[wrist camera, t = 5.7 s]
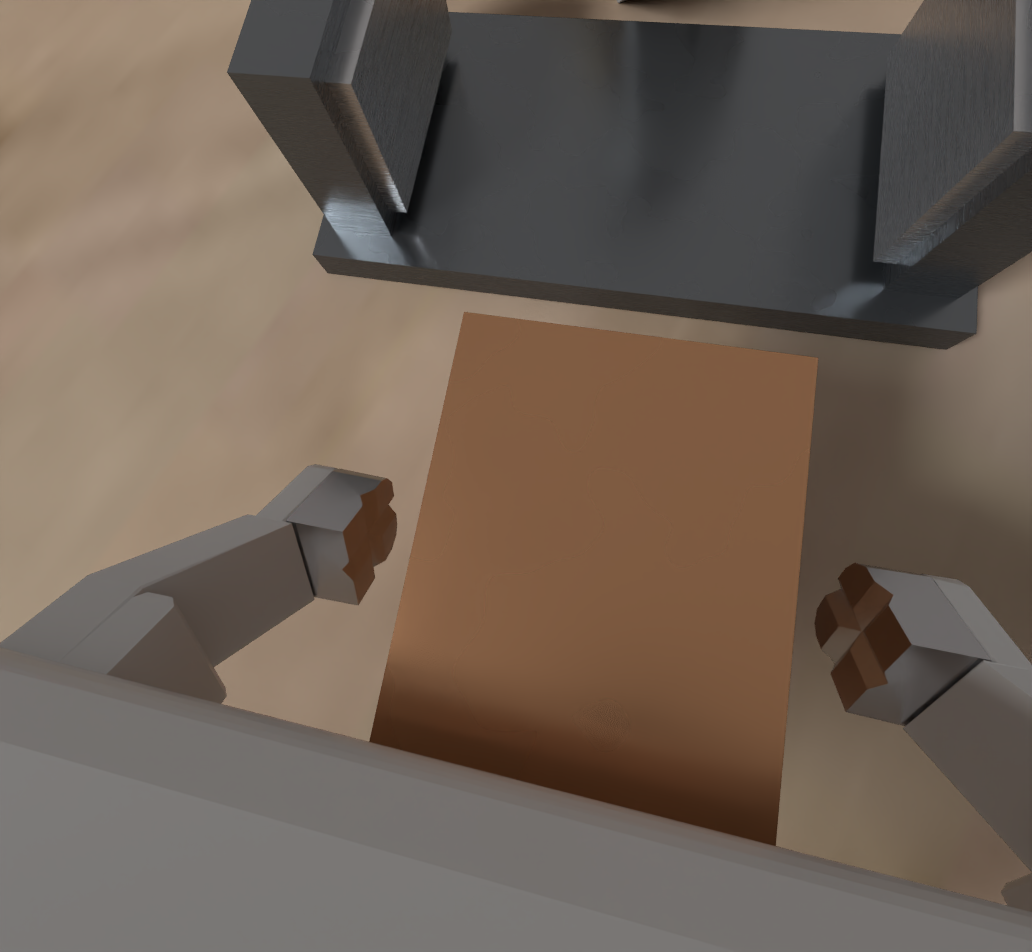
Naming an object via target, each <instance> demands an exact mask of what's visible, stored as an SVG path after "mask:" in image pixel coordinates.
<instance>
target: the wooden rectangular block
mask: <svg viewBox="0 0 1032 952" xmlns="http://www.w3.org/2000/svg"><path fill="white" fill-rule="evenodd" d="M817 367H818V358H816V357H808V356H801V355H793V354H785V353H778V352H770V351H762V350H754V349H747V348H739V347H731V346H723V345H716V344H708V343H700V342H693V341H685V340H677V339H669V338H662V337H654V336H646V335H638V334H631V333H623V332H615V331H608V330H600V329H592V328H584V327H577V326H569V325H561V324H553V323H546V322H538V321H530V320H522V319H515V318H507V317H499V316H492V315H484V314H476V313H468V312H464V315H463V319H462V324H461V328H460V333H459V337H458V342H457V347H456V351H455V356H454V360H453V365H452V369H451V374H450V378H449V383H448V387H447V392H446V396H445V401H444V405H443V410H442V415H441V419H440V424H439V428H438V433H437V437H436V442H435V446H434V451H433V455H432V460H431V464H430V469H429V474H428V478H427V483H426V487H425V492H424V496H423V501H422V505H421V510H420V514H419V519H418V523H417V528H416V533H415V537H414V542H413V546H412V551H411V555H410V560H409V564H408V569H407V573H406V578H405V582H404V587H403V592H402V596H401V601H400V605H399V610H398V614H397V619H396V623H395V628H394V632H393V637H392V641H391V646H390V650H389V655H388V660H387V664H386V669H385V673H384V678H383V682H382V687H381V691H380V696H379V700H378V705H377V709H376V714H375V719H374V723H373V728H372V732H371V737H370V741H369V742H372V743H376V744H380V745H384V746H388V747H392V748H395V749H399V750H403V751H407V752H411V753H415V754H419V755H423V756H427V757H431V758H434V759H438V760H442V761H446V762H450V763H454V764H458V765H462V766H466V767H470V768H473V769H477V770H481V771H485V772H489V773H493V774H497V775H501V776H505V777H509V778H512V779H516V780H520V781H524V782H528V783H532V784H536V785H540V786H544V787H547V788H551V789H555V790H559V791H563V792H567V793H571V794H575V795H579V796H583V797H586V798H590V799H594V800H598V801H602V802H606V803H610V804H614V805H618V806H621V807H625V808H629V809H633V810H637V811H641V812H645V813H649V814H653V815H656V816H660V817H664V818H668V819H672V820H676V821H680V822H684V823H688V824H692V825H695V826H699V827H703V828H707V829H711V830H715V831H719V832H723V833H727V834H730V835H734V836H738V837H742V838H746V839H750V840H754V841H758V842H762V843H765V844H769V845H773V846H776V835H777V824H778V812H779V801H780V789H781V778H782V767H783V755H784V744H785V732H786V721H787V710H788V698H789V687H790V675H791V664H792V652H793V641H794V630H795V618H796V607H797V595H798V584H799V573H800V561H801V550H802V538H803V527H804V515H805V504H806V493H807V481H808V470H809V458H810V447H811V436H812V424H813V413H814V401H815V390H816V378H817Z"/></svg>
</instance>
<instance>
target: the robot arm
mask: <svg viewBox="0 0 1032 952" xmlns="http://www.w3.org/2000/svg"><path fill="white" fill-rule="evenodd" d="M393 497H394V493H393V486H392V482H391V481H390V480H389V479H387V478H383V477H378V476H373V475H368V474H364V473H359V472H354V471H349V470H344V469H337V468H332V467H327V466H322V465H317V464H314V465H310V466H307V467H306V468H305V469H304V470H303V471H302V472H301V473H300V474H299V475H298V476H297V477H296V478H295V479H294V480H293V481H292V482H291V483H289V484H288V485H287V486H286V487H285V488H284V489H283V490H282V491H281V492H280V493H279V494H278V495H277V496H276V497H275V498H274V499H273V500H272V501H271V502H270V503H269V504H268V505H267V506H266V507H264V508H263V509H262V510H261V511H260V512H259V513H258V514H257V515H256V516H253V515H245V516H242V517H240V518H237V519H234V520H232V521H229V522H227V523H224V524H221V525H219V526H216V527H213V528H211V529H208V530H206V531H203V532H200V533H198V534H195V535H192V536H190V537H187V538H185V539H182V540H179V541H177V542H174V543H171V544H169V545H166V546H163V547H161V548H158V549H156V550H153V551H150V552H148V553H145V554H142V555H140V556H137V557H135V558H132V559H129V560H127V561H124V562H121V563H119V564H116V565H114V566H111V567H108V568H106V569H103V570H100V571H98V572H95V573H92V574H90V575H87V576H86V577H85V578H84V579H82V580H81V581H80V582H78V583H77V584H76V585H75V586H73V587H72V588H71V589H69V590H68V591H67V592H66V593H64V594H63V595H62V596H60V597H59V598H58V599H56V600H55V601H54V602H53V603H51V604H50V605H49V606H47V607H46V608H45V609H44V610H42V611H41V612H40V613H38V614H37V615H36V616H35V617H33V618H32V619H31V620H29V621H28V622H27V623H26V624H24V625H23V626H22V627H20V628H19V629H18V630H16V631H15V632H14V633H13V634H11V635H10V636H9V637H7V638H6V639H5V640H4V641H2V642H1V643H0V952H1032V873H1031V874H1028V875H1026V876H1023V877H1021V878H1018V879H1016V880H1014V881H1011V882H1009V883H1006V885H1005V886H1004V888H1003V890H1002V891H1001V893H1002V895H1003V897H1004V899H1005V901H1006V903H1007V905H1008V906H1007V905H1003V904H999V903H995V902H991V901H987V900H984V899H980V898H976V897H972V896H968V895H964V894H960V893H956V892H952V891H948V890H945V889H941V888H937V887H933V886H929V885H925V884H921V883H917V882H913V881H910V880H906V879H902V878H898V877H894V876H890V875H886V874H882V873H878V872H874V871H871V870H867V869H863V868H859V867H855V866H851V865H847V864H843V863H839V862H836V861H832V860H828V859H824V858H820V857H816V856H812V855H808V854H804V853H801V852H797V851H793V850H789V849H785V848H781V847H777V846H773V845H769V844H765V843H762V842H758V841H754V840H750V839H746V838H742V837H738V836H734V835H730V834H727V833H723V832H719V831H715V830H711V829H707V828H703V827H699V826H695V825H692V824H688V823H684V822H680V821H676V820H672V819H668V818H664V817H660V816H656V815H653V814H649V813H645V812H641V811H637V810H633V809H629V808H625V807H621V806H618V805H614V804H610V803H606V802H602V801H598V800H594V799H590V798H586V797H583V796H579V795H575V794H571V793H567V792H563V791H559V790H555V789H551V788H547V787H544V786H540V785H536V784H532V783H528V782H524V781H520V780H516V779H512V778H509V777H505V776H501V775H497V774H493V773H489V772H485V771H481V770H477V769H473V768H470V767H466V766H462V765H458V764H454V763H450V762H446V761H442V760H438V759H434V758H431V757H427V756H423V755H419V754H415V753H411V752H407V751H403V750H399V749H395V748H392V747H388V746H384V745H380V744H376V743H372V742H368V741H364V740H360V739H356V738H352V737H349V736H345V735H341V734H337V733H333V732H329V731H325V730H321V729H317V728H313V727H310V726H306V725H302V724H298V723H294V722H290V721H286V720H282V719H278V718H274V717H271V716H267V715H263V714H259V713H255V712H251V711H247V710H243V709H239V708H235V707H231V706H228V705H224V704H221V703H222V702H223V700H224V699H225V698H226V688H225V686H224V684H223V682H222V681H221V679H220V677H219V676H218V674H217V672H216V671H215V669H214V667H215V666H216V665H218V664H219V663H221V662H222V661H224V660H225V659H227V658H228V657H230V656H231V655H233V654H234V653H236V652H237V651H239V650H240V649H242V648H243V647H245V646H246V645H248V644H249V643H251V642H252V641H254V640H255V639H257V638H258V637H260V636H261V635H263V634H264V633H266V632H267V631H268V630H270V629H271V628H273V627H274V626H276V625H277V624H279V623H280V622H282V621H283V620H285V619H286V618H288V617H289V616H291V615H292V614H294V613H295V612H297V611H298V610H300V609H301V608H303V607H304V606H306V605H307V604H309V603H310V602H312V601H313V600H314V597H317V598H322V599H327V600H333V601H338V602H343V603H348V604H354V605H359V603H360V602H361V600H362V599H363V597H364V595H365V594H366V592H367V590H368V589H369V587H370V585H371V584H372V582H373V580H374V579H375V575H374V568H373V567H374V566H376V565H378V564H380V563H382V562H383V561H385V560H386V559H387V557H388V555H389V553H390V552H391V550H392V547H393V544H394V541H395V537H396V531H397V518H396V513H395V512H394V511H393V510H392V508H391V507H390V506H389V505H388V504H389V503H390V501H391V500H392V498H393ZM838 580H839V583H840V586H841V589H839V590H837V591H835V592H833V593H830V594H828V595H826V596H825V597H824V599H823V600H822V602H821V603H820V605H819V607H818V608H817V613H816V619H815V630H816V637H817V639H818V642H819V645H820V648H821V650H822V651H824V652H825V653H826V654H827V655H828V656H829V657H830V658H831V659H832V660H833V661H834V662H835V665H834V667H833V669H832V671H831V676H832V678H833V681H834V683H835V686H836V688H837V691H838V693H839V696H840V698H841V701H842V703H843V706H844V708H845V711H846V712H849V713H853V714H857V715H861V716H865V717H870V718H874V719H878V720H882V721H886V722H890V723H894V724H898V725H902V726H905V727H904V728H903V729H904V730H905V731H906V732H907V733H908V734H909V736H910V737H911V738H912V739H913V740H914V741H915V742H916V743H917V744H918V746H919V747H920V748H921V749H922V750H923V751H924V752H925V753H926V755H927V756H928V757H929V758H930V759H931V760H932V761H933V762H934V763H935V765H936V766H937V767H938V768H939V769H940V770H941V771H942V772H943V773H944V775H945V776H946V777H947V778H948V779H949V780H950V781H951V782H952V784H953V785H954V786H955V787H956V788H957V789H958V790H959V791H960V792H961V794H962V795H963V796H964V797H965V798H966V799H967V800H968V801H969V803H970V804H971V805H972V806H973V807H974V808H975V809H976V810H977V811H978V813H979V814H980V815H981V816H982V817H983V818H984V819H985V820H986V821H987V823H988V824H989V825H990V826H991V827H992V828H993V829H994V830H995V832H996V833H997V834H998V835H999V836H1000V837H1001V838H1002V839H1003V840H1004V842H1005V843H1006V844H1007V845H1008V846H1009V847H1010V848H1011V849H1012V850H1013V852H1014V853H1015V854H1016V855H1017V856H1018V857H1019V858H1020V859H1021V861H1022V862H1023V863H1024V864H1025V865H1026V866H1027V867H1028V868H1029V869H1030V871H1031V872H1032V664H1031V663H1030V662H1029V661H1028V659H1027V658H1026V657H1025V656H1024V654H1023V653H1022V652H1021V651H1020V649H1019V648H1018V647H1017V646H1016V644H1015V643H1014V642H1013V641H1012V639H1011V638H1010V637H1009V636H1008V634H1007V633H1006V632H1005V631H1004V629H1003V628H1002V627H1001V626H1000V624H999V623H998V622H997V621H996V619H995V618H994V617H993V616H992V614H991V613H990V612H989V611H988V609H987V608H986V607H985V606H984V604H983V603H982V602H981V601H980V599H979V598H978V597H977V596H976V594H975V593H974V592H973V591H972V589H971V588H970V587H969V586H967V585H966V584H964V583H963V582H961V581H959V580H958V579H951V578H945V577H939V576H933V575H926V574H916V573H910V572H905V571H899V570H893V569H887V568H882V567H876V566H870V565H864V564H859V563H853V564H852V565H850V566H848V567H846V568H845V570H844V571H843V572H842V574H841V575H840V576H839V578H838Z"/></svg>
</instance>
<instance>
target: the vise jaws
mask: <svg viewBox="0 0 1032 952" xmlns="http://www.w3.org/2000/svg"><path fill="white" fill-rule="evenodd" d="M227 73H228V74H229V76H230V77H231V79H232V80H233V82H234V83H235V85H236V86H237V88H238V89H239V91H240V92H241V94H242V95H243V96H244V98H245V99H246V101H247V102H248V104H249V105H250V107H251V108H252V110H253V111H254V113H255V114H256V115H257V117H258V118H259V120H260V121H261V123H262V124H263V126H264V127H265V129H266V130H267V132H268V133H269V135H270V136H271V137H272V139H273V140H274V142H275V143H276V145H277V146H278V148H279V149H280V151H281V152H282V154H283V155H284V157H285V158H286V159H287V161H288V162H289V164H290V165H291V167H292V168H293V170H294V171H295V173H296V174H297V176H298V177H299V179H300V180H301V181H302V183H303V184H304V186H305V187H306V189H307V190H308V192H309V193H310V195H311V196H312V198H313V199H314V200H315V202H316V203H317V205H318V206H319V208H320V209H321V211H322V212H323V214H324V216H323V220H322V223H321V227H320V230H319V234H318V237H317V241H316V244H315V248H314V252H313V256H314V257H315V258H316V259H317V261H318V262H319V263H320V264H321V265H322V267H323V268H324V269H325V270H326V272H327V273H331V274H339V275H348V276H356V277H364V278H372V279H380V280H388V281H396V282H404V283H412V284H420V285H428V286H437V287H445V288H453V289H461V290H469V291H477V292H485V293H493V294H501V295H509V296H518V297H526V298H534V299H542V300H550V301H558V302H566V303H574V304H582V305H590V306H598V307H607V308H615V309H623V310H631V311H639V312H647V313H655V314H663V315H671V316H679V317H688V318H696V319H704V320H712V321H720V322H728V323H736V324H744V325H752V326H760V327H768V328H777V329H785V330H793V331H801V332H809V333H817V334H825V335H833V336H841V337H849V338H858V339H866V340H874V341H882V342H890V343H898V344H906V345H914V346H922V347H930V348H938V349H948V348H950V347H952V346H954V345H956V344H957V343H959V342H961V341H963V340H965V339H967V338H969V337H971V336H973V335H974V334H976V329H977V297H978V286H979V285H980V284H982V283H983V282H985V281H987V280H988V279H990V278H991V277H993V276H994V275H996V274H997V273H999V272H1001V271H1002V270H1004V269H1005V268H1007V267H1008V266H1010V265H1012V264H1013V263H1015V262H1016V261H1018V260H1019V259H1021V258H1023V257H1024V256H1026V255H1027V254H1029V253H1030V252H1032V0H924V1H923V3H922V4H921V6H920V7H919V9H918V10H917V12H916V13H915V15H914V16H913V18H912V19H911V21H910V22H909V24H908V25H907V27H906V28H905V30H904V31H903V33H902V34H881V33H861V32H841V31H821V30H801V29H781V28H760V27H740V26H720V25H700V24H680V23H660V22H640V21H619V20H599V19H579V18H559V17H539V16H519V15H499V14H479V13H458V12H448V7H447V2H446V0H251V3H250V6H249V9H248V12H247V15H246V18H245V21H244V24H243V27H242V30H241V33H240V36H239V39H238V41H237V44H236V47H235V50H234V53H233V56H232V59H231V62H230V65H229V68H228V71H227Z"/></svg>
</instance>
